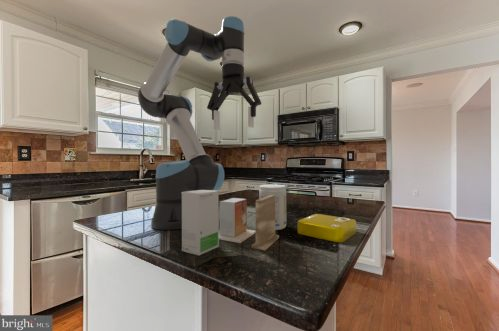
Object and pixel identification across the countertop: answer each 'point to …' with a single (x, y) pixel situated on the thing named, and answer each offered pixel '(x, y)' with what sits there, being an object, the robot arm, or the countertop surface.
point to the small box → (233, 217)
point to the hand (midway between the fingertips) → (233, 128)
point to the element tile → (327, 227)
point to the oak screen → (265, 223)
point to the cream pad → (238, 236)
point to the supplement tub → (276, 202)
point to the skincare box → (200, 221)
